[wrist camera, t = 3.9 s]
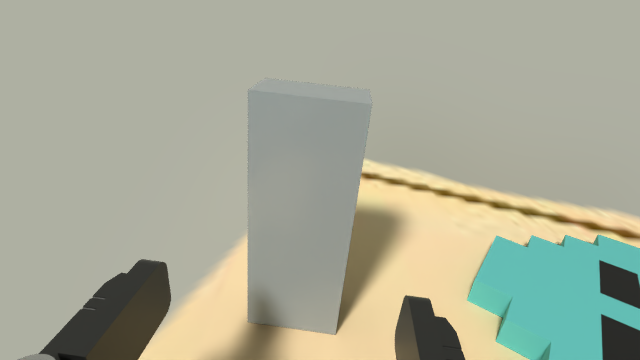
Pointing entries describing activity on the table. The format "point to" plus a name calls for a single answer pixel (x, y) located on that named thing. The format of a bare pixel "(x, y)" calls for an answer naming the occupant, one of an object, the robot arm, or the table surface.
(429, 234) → the table surface
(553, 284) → the alien figure
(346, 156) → the grey rectangular block
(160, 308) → the robot arm
